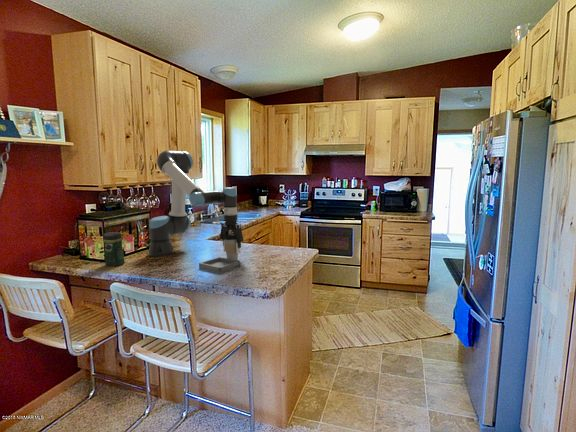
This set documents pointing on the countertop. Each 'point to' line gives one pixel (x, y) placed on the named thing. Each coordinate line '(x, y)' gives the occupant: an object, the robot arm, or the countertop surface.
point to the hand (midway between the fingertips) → (232, 252)
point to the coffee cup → (230, 246)
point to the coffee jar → (113, 249)
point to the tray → (219, 265)
